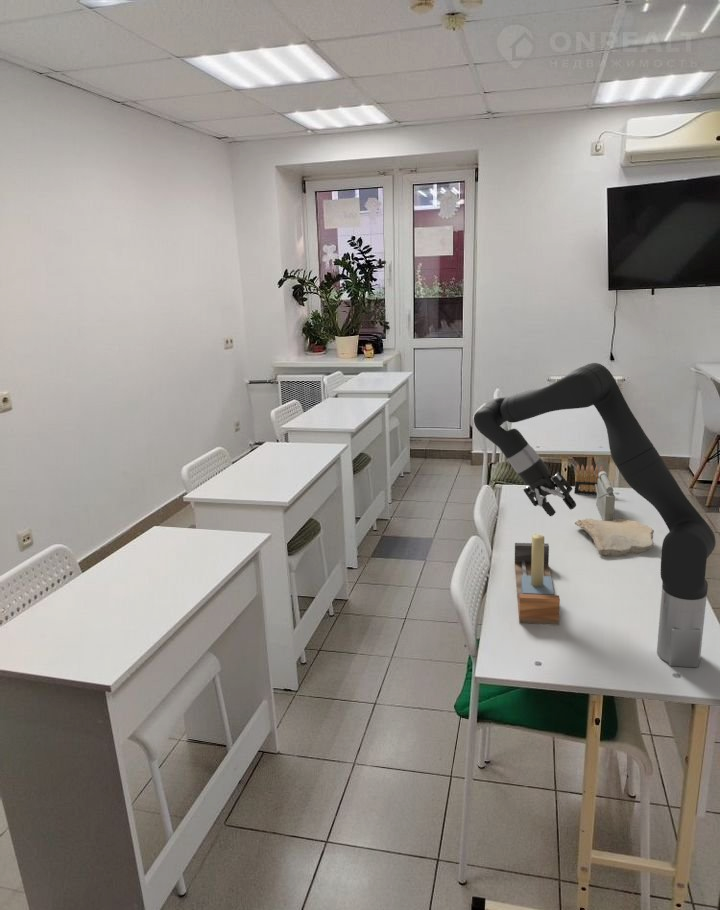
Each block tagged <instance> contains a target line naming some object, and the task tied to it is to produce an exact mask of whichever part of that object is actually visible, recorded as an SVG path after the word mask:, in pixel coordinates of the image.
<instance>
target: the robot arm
mask: <svg viewBox="0 0 720 910" xmlns="http://www.w3.org/2000/svg"><path fill="white" fill-rule="evenodd" d="M592 406H594V407H595V409H596V410H597V413H598V414H599V415H600V417H601V419H602V420H603V422H604V426H605V429H606V432H607V440H608V445H609V451H610V456H611V458H612V460H613V463H614V465H615V466H616V467H617V469H618V471H619V473H620V475H622V478H623V479H624V480H625V483H627V485H628V486H629V487H630V488H631V489H632V490H634V491H635V492H636V493H637V494H638V495H640V496H641V497H642V498H644V499H645V500H646V501H647V502H649V504H650V505H652V506H653V507H654V508H655V510H657V512H658V513H659V515H660V516H661V518H662V520H663V521H664V523H665V525H666V527H667V529H668V531H669V532H668V533H666V535H665V537H664V538H663V541H662V545H661V552H660V553H661V556H660V578H661V581H662V586H661V598H660V607H659V608H660V609H659V621H658V633H657V642H656V644H657V645H656V653H657V655H658V657H659V658H660V659H661V660H662V661H664V662H666V663H667V664H668V665H669V666H671V667H685V668H687V667H688V668H698V667H699V663H700V661H701V655H702V647H703V645H702V644H703V634H704V624H705V618H706V617H705V614H706V607H707V596H708V588H709V583H708V581H707V580H706V573H707V572H706V570H707V561H708V559H709V557H710V555H711V554H712V553H713V551H714V550H715V547H716V536H715V533H714V531H713V529H712V528H711V527H710V525H709V524H708V522H707V521H706V520H705V519H704V518H703V517H702V515H701V514H700V513H699V511H698V510H697V509H696V508H695V506H694V505H693V504H692V503H691V502H690V500H689V499H688V498H687V496H686V495H685V493H684V492H683V490H682V489H681V486H680V485H679V484H678V482H677V480H676V478H675V477H674V476H673V474H672V472H671V471H670V469H669V468H668V466H667V465H666V463H665V462H664V460H663V458H662V457H661V455H660V453H659V452H658V451H657V449H656V447H655V446H654V444H653V443H652V441H651V440H650V438H649V437H648V436H647V434H646V432H645V431H644V429H643V428H642V425H641V423H640V422H639V421H638V420H637V418H636V417H635V415H634V413H633V412H632V410H631V408H630V407H629V405H628V403H627V401H626V399H625V397H624V395H623V392H622V391H621V388H620V387H619V385H618V383H617V381H616V379H615V378H614V375H613V374H612V373H611V371H610V370H609V369H608V368H606V366H604V365H603V364H601V363H597V362H591V363H590V362H589V363H587V364H585V365H583V366H580V367H578V368H576V369H574V370H571V372H569V373H568V374H567V375H565V376H564V377H562V378H560V379H558V380H557V381H555V382H553V383H551V384H549V385H547V386H544V387H542V388H536V389H531V390H525V391H522V392H520V393H516V394H513V395H511V396H504V397H503V396H502V397H497V398H495V399H492V400H489V402H487V403H486V404H485V405H484V406H482V407H481V408H480V409H478V411H476V412H475V414H474V415H473V423H474V426H475V428H476V429H477V431H478V432H479V433H480V434H481V435H483V436H484V437H485V438H486V439H488V440H489V441H490V442H492V444H494V445H495V446H497V447H498V448H499V450H500V451H501V452H502V454H503V455H504V457H505V458H506V459H507V460H508V462H509V464H510V465H511V467H512V469H513V470H514V471H515V473H516V474H517V475H518V476H519V478H520V479H521V480H522V482H523V483H524V485H526V487H525V488H524V489H523V492H524V493H525V495H526V496H527V497H528V499H529V501H530V502H531V504H532V505H533V506H534V507H537V506H539V507H541V508H542V509H543V510H544V512H545V513H546V514H547V515H548V516H549V517H553V516H554V515H555V514H556V513H557V512H556V510H555V508H554V507H553V506H552V505H551V504H550V501H548V500H547V499H548V498H547V496H549V495H553V496H557V497H559V498H561V499H562V501H563V502H564V503H565V505H566V506H567V507H568V509H569V510H571V511H572V510H573V509H575V508H576V506H577V503H576V501H575V500H574V499H573V497H572V495H571V494H570V493H571V492H572V491H573V487H572V486H571V484H569V482H568V481H567V480H566V478H565V477H564V476H563V475H562V474H561V472H559V471H558V472H556V473H555V475H551V474H550V473H549V467H548V466H547V465H546V463H545V462H544V461H543V460H542V457H540V455H539V454H538V453H537V451H536V450H535V449H534V448H533V447H532V446H531V445H530V444H529V443H528V442H527V440H526V438H525V437H524V436H523V435H522V433H521V432H520V431H519V430H518V429H517V428H510V429H508V430H506V429H505V428H504V427H502V425H503V424H504V423H505V422H508V423H511V424H512V423H518V422H521V421H525V420H529V419H532V418H536V417H537V416H540V415H544V414H547V413H552V412H555V411H560V410H561V411H563V410H573V409H574V410H575V409H583V408H584V409H585V408H589V407H592Z"/></svg>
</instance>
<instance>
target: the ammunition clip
mask: <svg viewBox="0 0 720 910" xmlns="http://www.w3.org/2000/svg"><path fill="white" fill-rule="evenodd" d="M580 467H581V468H580ZM601 471H604V468H603V465H601V466H600V468H599V467H598V465H596V466H595V469H594V465H593V464H592V465H591V466H590V468H589V465H588V464H587V465H586V467H584V464H581V466H580V465H579V464H577V465H576V469H575V476H574V478H575V479H574V493H573V494H576V495H577V494H578V495H591V494H592V495H593V496H597V492H596V486H595V484H598V479H599V476H598V474H599V473H600V472H601ZM594 494H595V495H594Z"/></svg>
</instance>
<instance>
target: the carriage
mask: <svg viewBox="0 0 720 910" xmlns="http://www.w3.org/2000/svg"><path fill="white" fill-rule="evenodd" d="M531 543H532V563H531V576H524V575H521V593H522V594H536V595H555V591H554V586H553V585H554V584H553V581H552V576H544V544H545V536H544V535H542V534H534V535H532V536H531Z"/></svg>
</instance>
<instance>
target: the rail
mask: <svg viewBox="0 0 720 910" xmlns="http://www.w3.org/2000/svg"><path fill="white" fill-rule="evenodd" d="M549 553H550V545H549V543H544V576H551V571H550V565H549V562H550V561H549V560H550V559H549V557H550V554H549ZM531 563H532V542H514V573H515V574H514V575H515V584H516V585H515V586H516V597H517V609H518V610H517V611H518V622H519V624H530V625H531V624H532V625H533V624H534V625H553V626H554V625H555V626H557V625H558V626H559V625H560V605H561V604H560V602H561V599H560V595H558V594H554V595H536V594H522V593H521V575H524V576H531ZM551 577H552V576H551Z"/></svg>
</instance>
